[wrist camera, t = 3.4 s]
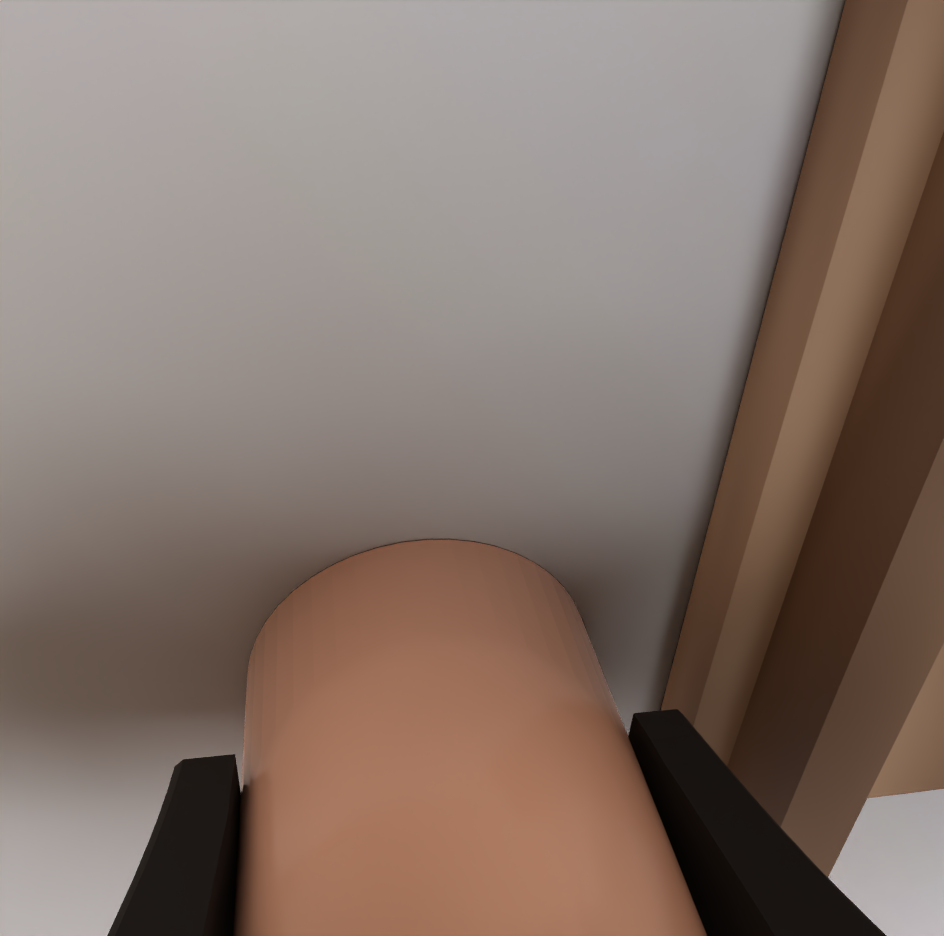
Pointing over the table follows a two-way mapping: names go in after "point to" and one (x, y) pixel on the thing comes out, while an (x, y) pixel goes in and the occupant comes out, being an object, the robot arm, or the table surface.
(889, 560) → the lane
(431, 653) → the jar
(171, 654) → the table surface
